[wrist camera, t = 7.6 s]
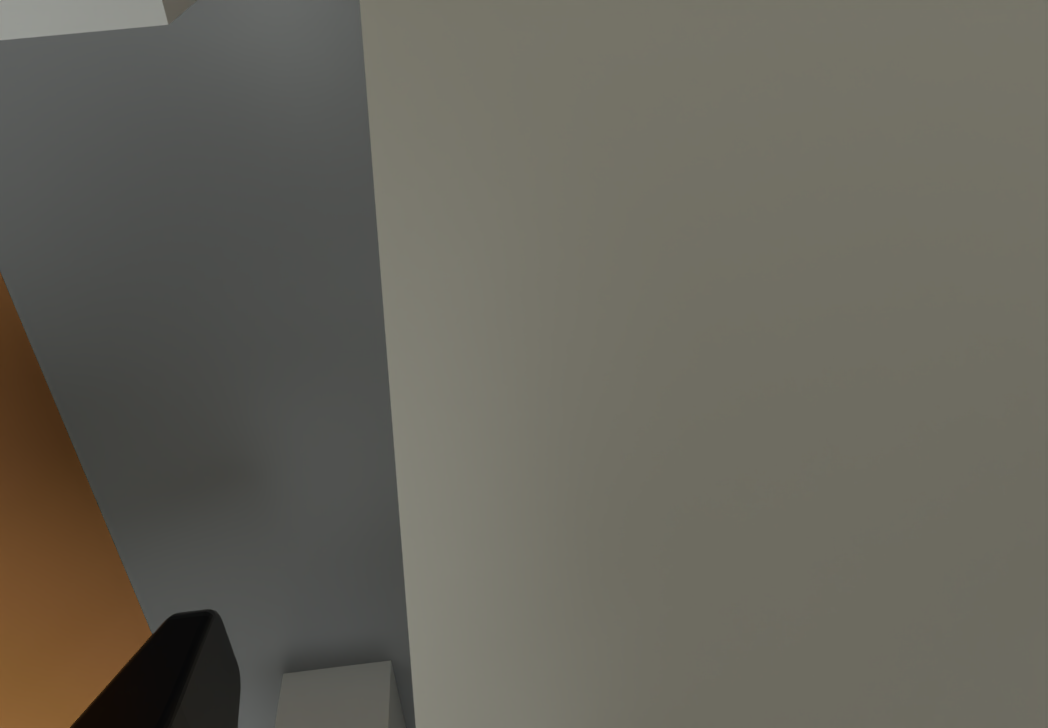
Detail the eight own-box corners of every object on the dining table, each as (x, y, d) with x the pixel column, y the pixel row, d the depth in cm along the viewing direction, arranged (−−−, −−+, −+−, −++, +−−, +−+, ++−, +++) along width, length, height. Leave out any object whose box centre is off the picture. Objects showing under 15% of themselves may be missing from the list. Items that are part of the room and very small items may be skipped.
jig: (973, 749, 17) (1091, 951, 14) (271, 841, 16) (237, 1072, 13) (1532, -1049, 6) (2539, -1829, 3) (-423, -958, 6) (-1343, -1781, 3)
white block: (748, 778, 15) (877, 1165, 11) (444, 803, 14) (453, 1215, 10) (1066, -572, 7) (2241, -1264, 2) (367, -609, 6) (240, -1549, 2)
